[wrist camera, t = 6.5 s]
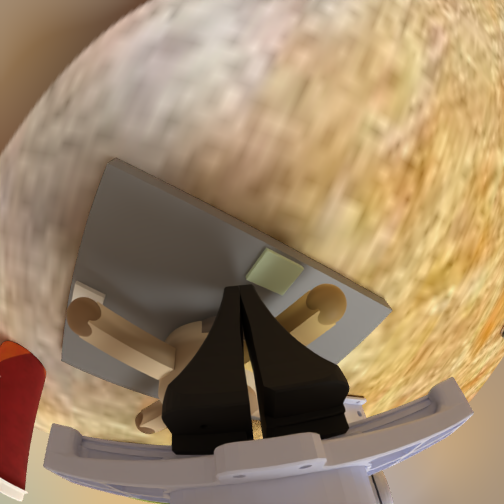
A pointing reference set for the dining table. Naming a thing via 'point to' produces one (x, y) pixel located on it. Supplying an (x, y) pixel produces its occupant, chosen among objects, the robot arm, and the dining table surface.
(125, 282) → the stand board
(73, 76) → the dining table surface
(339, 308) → the tan cross-shaped piece
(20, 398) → the coffee cup
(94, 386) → the dining table surface
